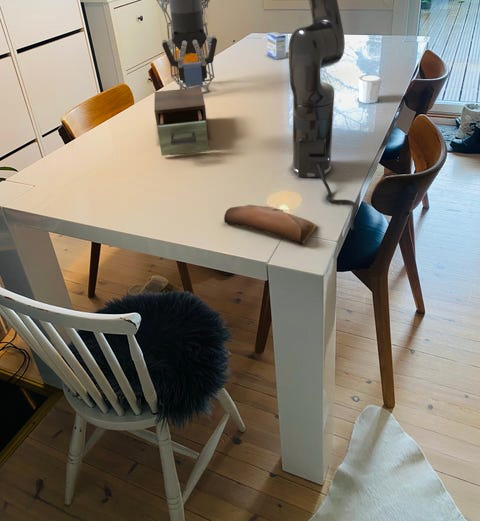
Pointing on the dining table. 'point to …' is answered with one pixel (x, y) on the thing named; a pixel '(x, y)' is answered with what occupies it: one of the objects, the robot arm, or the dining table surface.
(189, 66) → the block
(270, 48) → the medicine box
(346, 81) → the dining table surface
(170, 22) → the geometric lantern
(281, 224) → the sunglasses case
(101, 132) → the dining table surface
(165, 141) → the drawer
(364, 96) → the white short cylinder
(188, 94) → the cabinet
